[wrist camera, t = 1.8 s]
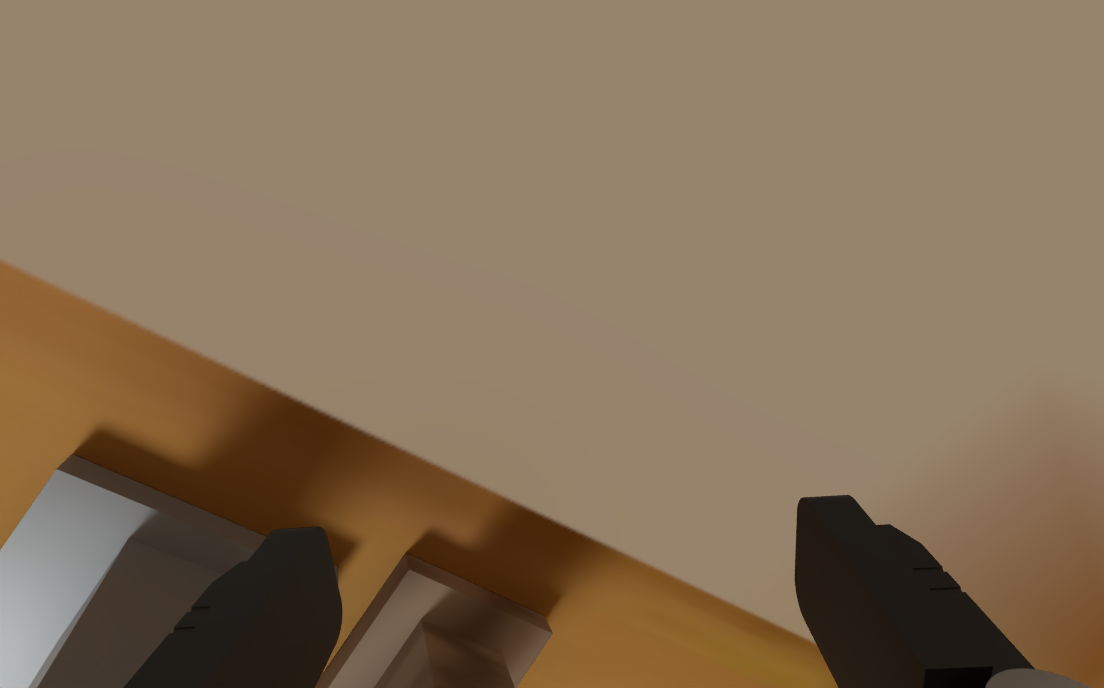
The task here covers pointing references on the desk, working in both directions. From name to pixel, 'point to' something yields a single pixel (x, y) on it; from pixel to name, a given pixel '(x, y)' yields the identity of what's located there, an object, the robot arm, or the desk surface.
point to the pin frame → (104, 577)
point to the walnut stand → (437, 635)
